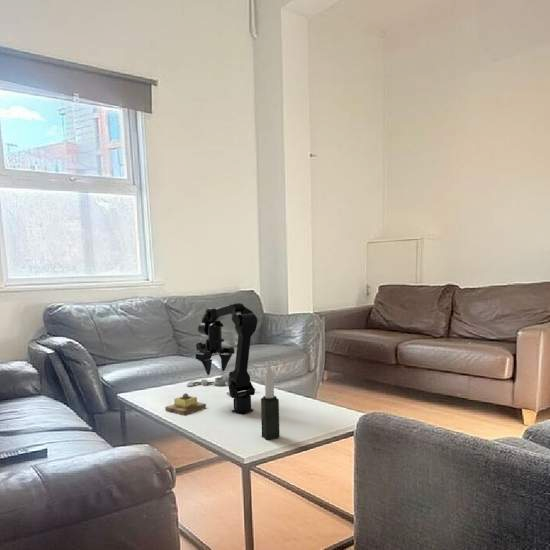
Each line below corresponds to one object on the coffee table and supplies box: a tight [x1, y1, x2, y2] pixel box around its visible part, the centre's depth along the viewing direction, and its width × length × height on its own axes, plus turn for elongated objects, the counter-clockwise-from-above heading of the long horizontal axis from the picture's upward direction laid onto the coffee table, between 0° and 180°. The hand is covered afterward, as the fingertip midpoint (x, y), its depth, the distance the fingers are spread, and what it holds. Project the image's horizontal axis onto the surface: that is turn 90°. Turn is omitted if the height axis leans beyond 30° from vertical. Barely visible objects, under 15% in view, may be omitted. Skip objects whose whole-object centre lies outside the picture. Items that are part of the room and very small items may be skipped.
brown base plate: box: [164, 392, 207, 416], centre depth 197 cm, size 11×12×6 cm
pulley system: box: [186, 373, 229, 388], centre depth 240 cm, size 27×5×15 cm
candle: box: [260, 362, 281, 441], centre depth 161 cm, size 5×5×25 cm
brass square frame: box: [174, 395, 198, 408], centre depth 197 cm, size 6×6×3 cm
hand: (215, 372), depth 208 cm, fingers open, 9 cm apart
